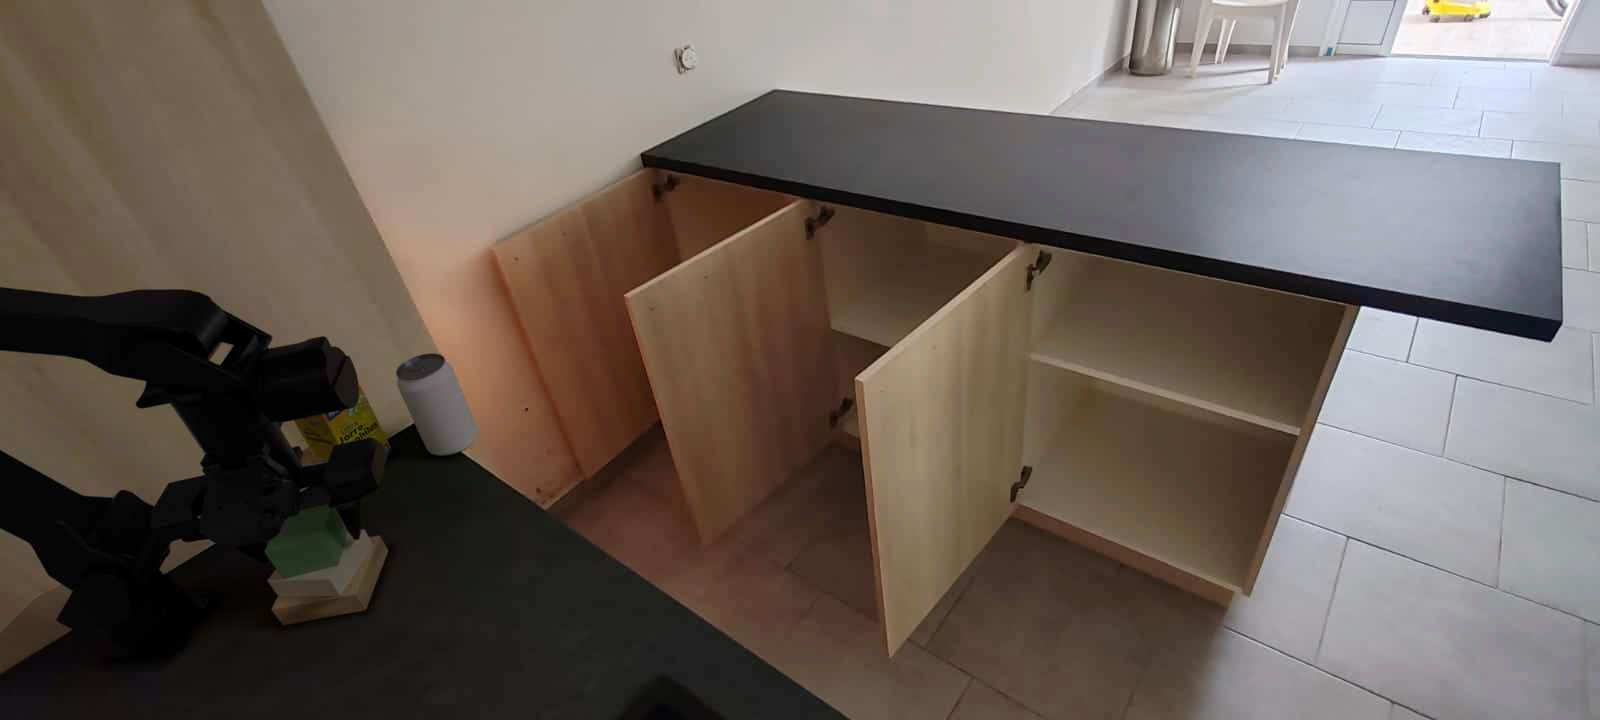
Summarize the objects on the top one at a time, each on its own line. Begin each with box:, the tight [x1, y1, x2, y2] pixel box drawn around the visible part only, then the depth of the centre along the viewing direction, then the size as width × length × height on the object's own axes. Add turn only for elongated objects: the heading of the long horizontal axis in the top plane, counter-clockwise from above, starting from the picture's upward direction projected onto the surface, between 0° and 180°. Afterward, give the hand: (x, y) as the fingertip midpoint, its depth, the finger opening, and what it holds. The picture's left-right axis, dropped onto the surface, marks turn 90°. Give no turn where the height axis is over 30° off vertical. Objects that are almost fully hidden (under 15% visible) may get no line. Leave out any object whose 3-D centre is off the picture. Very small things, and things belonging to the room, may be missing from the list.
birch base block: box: [271, 535, 389, 626], centre depth 77 cm, size 8×8×2 cm
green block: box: [264, 503, 348, 579], centre depth 74 cm, size 5×5×4 cm
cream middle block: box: [266, 529, 374, 597], centre depth 76 cm, size 6×6×2 cm
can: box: [395, 352, 479, 457], centre depth 94 cm, size 6×6×12 cm
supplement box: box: [293, 384, 394, 463], centre depth 92 cm, size 6×6×11 cm
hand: (313, 548), depth 75 cm, fingers open, 8 cm apart
